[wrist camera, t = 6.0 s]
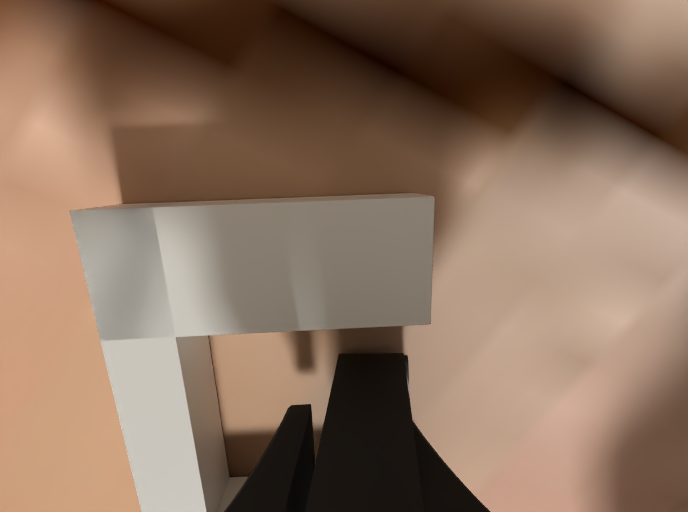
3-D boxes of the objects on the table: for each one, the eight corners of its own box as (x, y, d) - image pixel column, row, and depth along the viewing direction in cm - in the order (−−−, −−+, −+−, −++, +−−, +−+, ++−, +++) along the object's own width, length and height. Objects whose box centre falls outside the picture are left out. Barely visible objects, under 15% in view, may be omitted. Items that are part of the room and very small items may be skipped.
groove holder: (408, 534, 13) (422, 595, 11) (190, 549, 13) (166, 614, 11) (414, 192, 10) (434, 196, 8) (121, 204, 10) (69, 210, 8)
